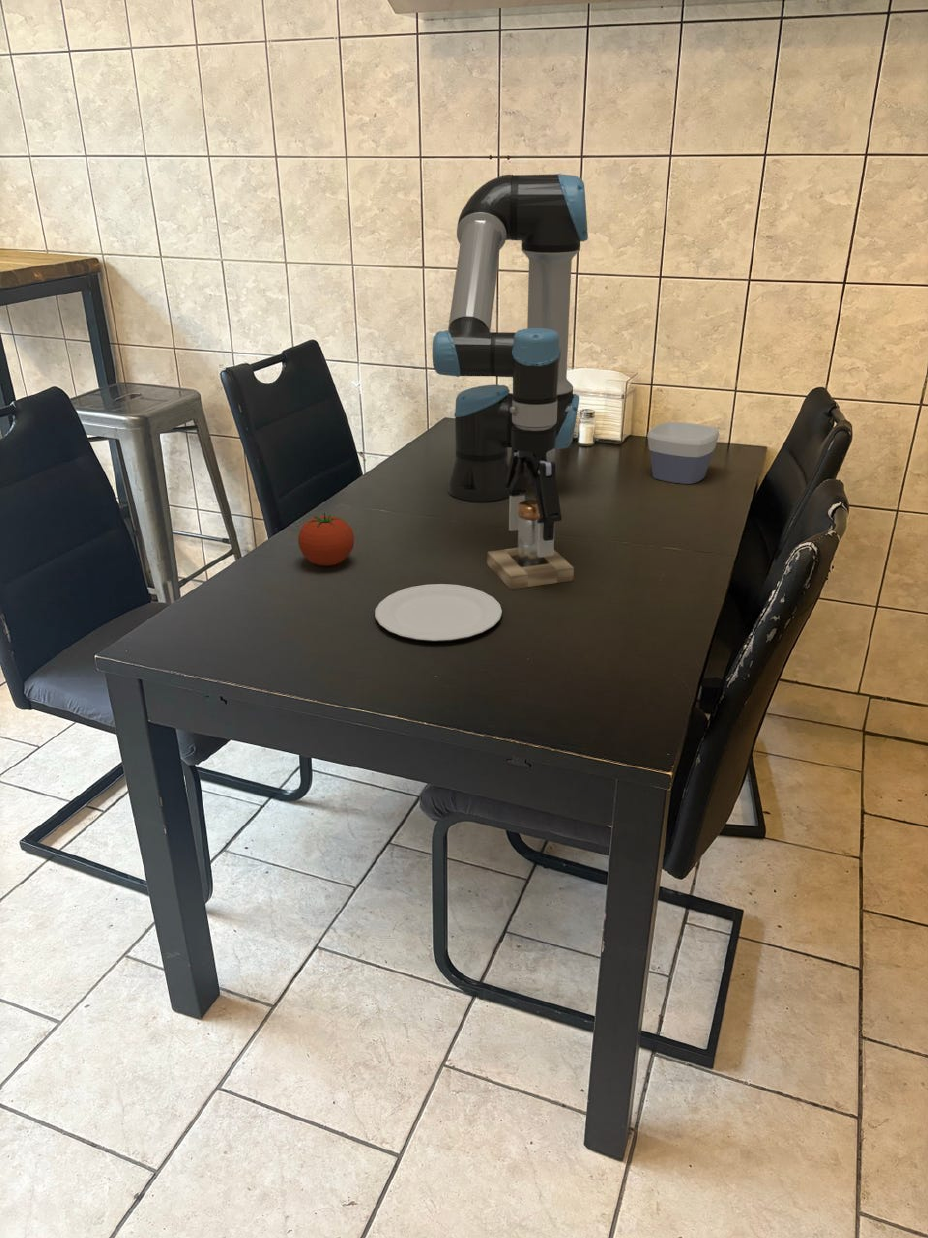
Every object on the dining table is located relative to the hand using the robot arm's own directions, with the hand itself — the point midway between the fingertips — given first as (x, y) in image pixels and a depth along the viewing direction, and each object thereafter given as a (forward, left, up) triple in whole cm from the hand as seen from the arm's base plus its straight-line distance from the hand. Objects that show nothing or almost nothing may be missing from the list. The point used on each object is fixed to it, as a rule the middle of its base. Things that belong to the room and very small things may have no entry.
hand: (530, 542), depth 163 cm
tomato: (-16, -34, -6) cm, 38 cm away
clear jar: (0, 0, -6) cm, 6 cm away
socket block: (0, 0, -6) cm, 6 cm away
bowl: (-41, +55, -6) cm, 69 cm away
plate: (+12, -21, -6) cm, 25 cm away
